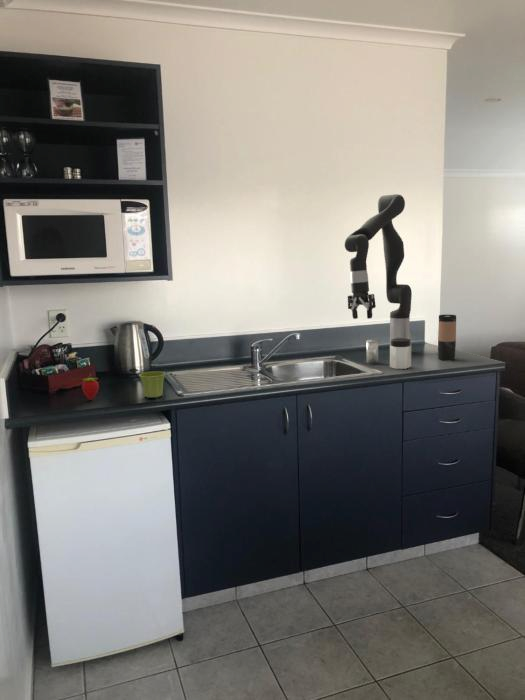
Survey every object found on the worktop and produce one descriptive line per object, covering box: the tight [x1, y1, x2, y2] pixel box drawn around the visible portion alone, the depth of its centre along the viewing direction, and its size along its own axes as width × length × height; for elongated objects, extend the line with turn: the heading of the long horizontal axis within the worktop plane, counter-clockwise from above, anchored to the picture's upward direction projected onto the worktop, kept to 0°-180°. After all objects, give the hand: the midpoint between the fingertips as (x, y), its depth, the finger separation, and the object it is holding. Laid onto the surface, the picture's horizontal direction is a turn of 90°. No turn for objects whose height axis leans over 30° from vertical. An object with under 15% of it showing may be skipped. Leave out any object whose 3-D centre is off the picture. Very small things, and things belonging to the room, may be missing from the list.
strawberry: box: [81, 373, 100, 400], centre depth 201 cm, size 6×8×10 cm
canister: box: [365, 339, 379, 365], centre depth 253 cm, size 5×5×10 cm
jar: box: [389, 338, 412, 370], centre depth 241 cm, size 9×8×12 cm
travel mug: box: [437, 314, 457, 361], centre depth 254 cm, size 8×8×20 cm
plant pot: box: [138, 370, 166, 398], centre depth 203 cm, size 9×9×9 cm
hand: (362, 318), depth 247 cm, fingers open, 8 cm apart
